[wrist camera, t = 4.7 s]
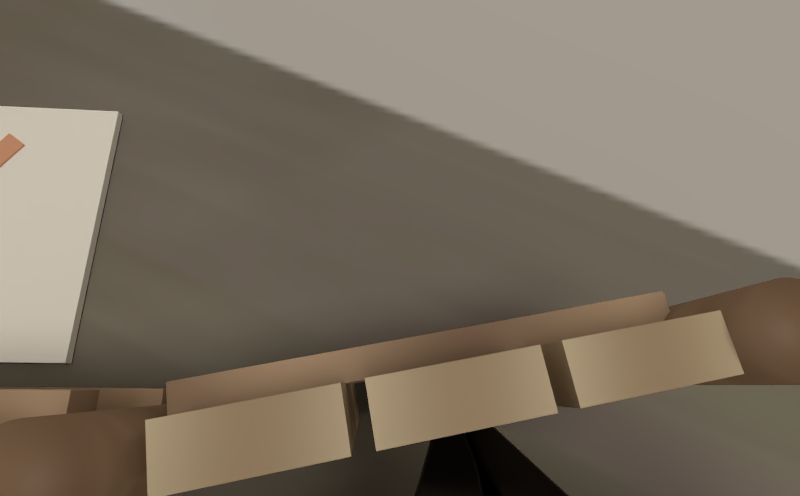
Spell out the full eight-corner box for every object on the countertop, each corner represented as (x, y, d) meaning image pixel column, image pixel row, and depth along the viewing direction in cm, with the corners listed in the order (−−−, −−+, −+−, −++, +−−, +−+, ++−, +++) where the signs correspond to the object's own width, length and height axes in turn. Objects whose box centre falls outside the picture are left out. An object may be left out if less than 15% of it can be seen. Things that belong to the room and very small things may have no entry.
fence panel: (257, 448, 14) (99, 541, 6) (251, 383, 14) (97, 380, 6) (596, 379, 15) (869, 373, 7) (579, 322, 15) (815, 252, 7)
